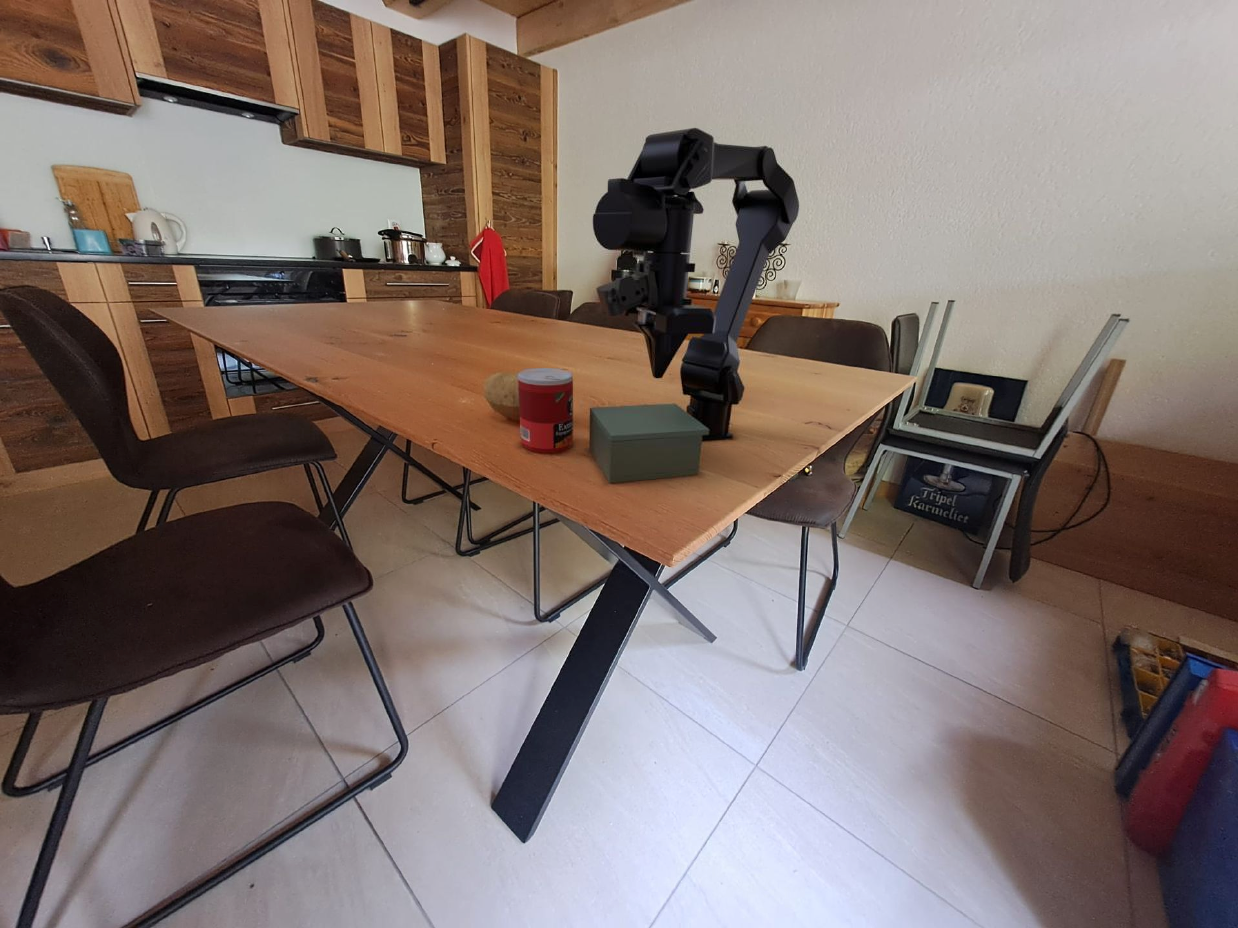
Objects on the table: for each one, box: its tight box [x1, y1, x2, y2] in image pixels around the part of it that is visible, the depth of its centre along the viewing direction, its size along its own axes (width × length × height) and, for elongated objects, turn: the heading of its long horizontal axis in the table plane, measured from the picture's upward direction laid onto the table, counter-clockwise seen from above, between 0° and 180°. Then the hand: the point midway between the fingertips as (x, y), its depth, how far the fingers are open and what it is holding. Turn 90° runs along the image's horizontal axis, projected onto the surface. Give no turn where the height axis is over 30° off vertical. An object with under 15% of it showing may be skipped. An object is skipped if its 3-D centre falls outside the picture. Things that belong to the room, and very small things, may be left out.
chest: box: [588, 413, 703, 484], centre depth 67 cm, size 13×12×6 cm
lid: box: [589, 403, 709, 441], centre depth 65 cm, size 14×12×1 cm
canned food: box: [517, 367, 574, 455], centre depth 70 cm, size 8×8×11 cm
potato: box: [482, 372, 520, 423], centre depth 81 cm, size 10×14×8 cm
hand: (657, 377), depth 65 cm, fingers closed
